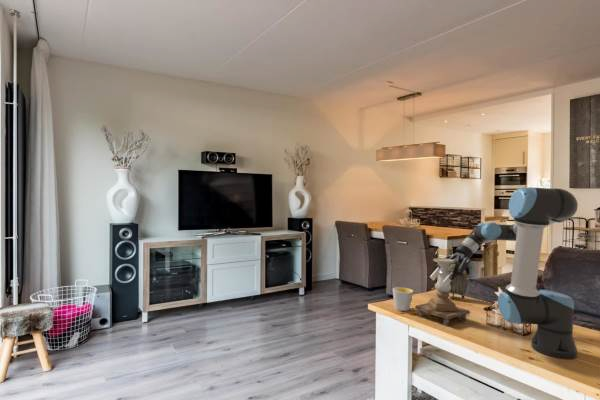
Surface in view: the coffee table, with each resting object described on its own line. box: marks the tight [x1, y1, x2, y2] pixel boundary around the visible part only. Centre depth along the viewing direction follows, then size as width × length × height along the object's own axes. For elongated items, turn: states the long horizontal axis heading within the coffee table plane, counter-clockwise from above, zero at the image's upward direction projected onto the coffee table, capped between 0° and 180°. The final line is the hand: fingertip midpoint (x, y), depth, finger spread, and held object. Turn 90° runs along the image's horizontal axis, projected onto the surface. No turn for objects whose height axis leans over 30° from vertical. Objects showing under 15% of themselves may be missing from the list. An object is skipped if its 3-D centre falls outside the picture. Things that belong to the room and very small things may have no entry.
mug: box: [392, 286, 414, 312], centre depth 198 cm, size 14×10×10 cm
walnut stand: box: [414, 302, 471, 327], centre depth 185 cm, size 18×18×5 cm
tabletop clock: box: [448, 263, 468, 300], centre depth 223 cm, size 14×9×25 cm, turn 66°
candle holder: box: [427, 257, 458, 312], centre depth 185 cm, size 11×11×24 cm
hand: (438, 281), depth 184 cm, fingers open, 10 cm apart
